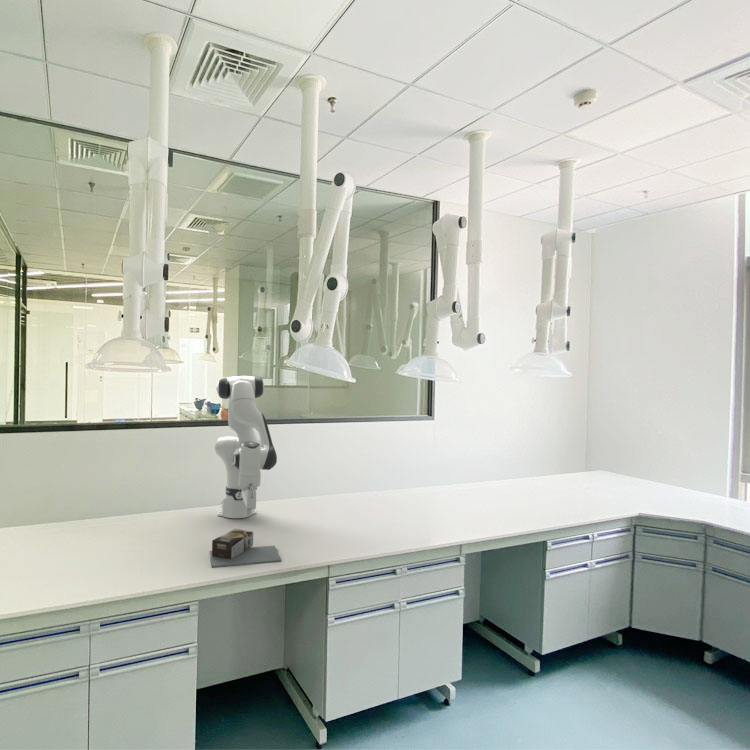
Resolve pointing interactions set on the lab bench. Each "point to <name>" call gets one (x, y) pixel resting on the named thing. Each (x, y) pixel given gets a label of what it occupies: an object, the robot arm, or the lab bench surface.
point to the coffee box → (232, 543)
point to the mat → (248, 557)
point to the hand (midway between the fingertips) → (248, 514)
